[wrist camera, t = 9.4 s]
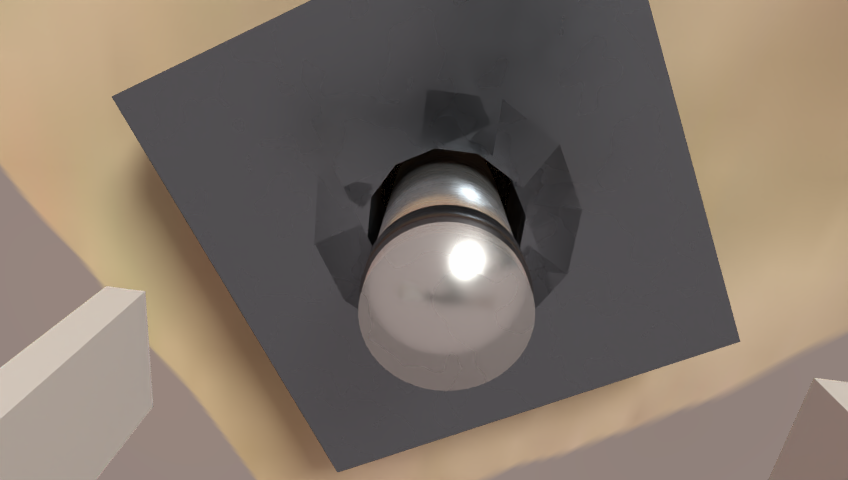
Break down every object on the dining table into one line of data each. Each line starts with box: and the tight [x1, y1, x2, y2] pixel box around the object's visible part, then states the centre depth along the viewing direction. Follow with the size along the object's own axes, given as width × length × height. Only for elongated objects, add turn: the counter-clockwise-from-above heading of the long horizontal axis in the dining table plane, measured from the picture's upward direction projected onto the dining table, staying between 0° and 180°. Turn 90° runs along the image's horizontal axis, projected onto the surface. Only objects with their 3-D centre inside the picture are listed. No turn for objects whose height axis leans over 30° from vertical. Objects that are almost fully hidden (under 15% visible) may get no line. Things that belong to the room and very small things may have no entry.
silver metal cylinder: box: [358, 148, 535, 391], centre depth 20 cm, size 5×5×12 cm
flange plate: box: [112, 0, 740, 472], centre depth 24 cm, size 18×18×5 cm
